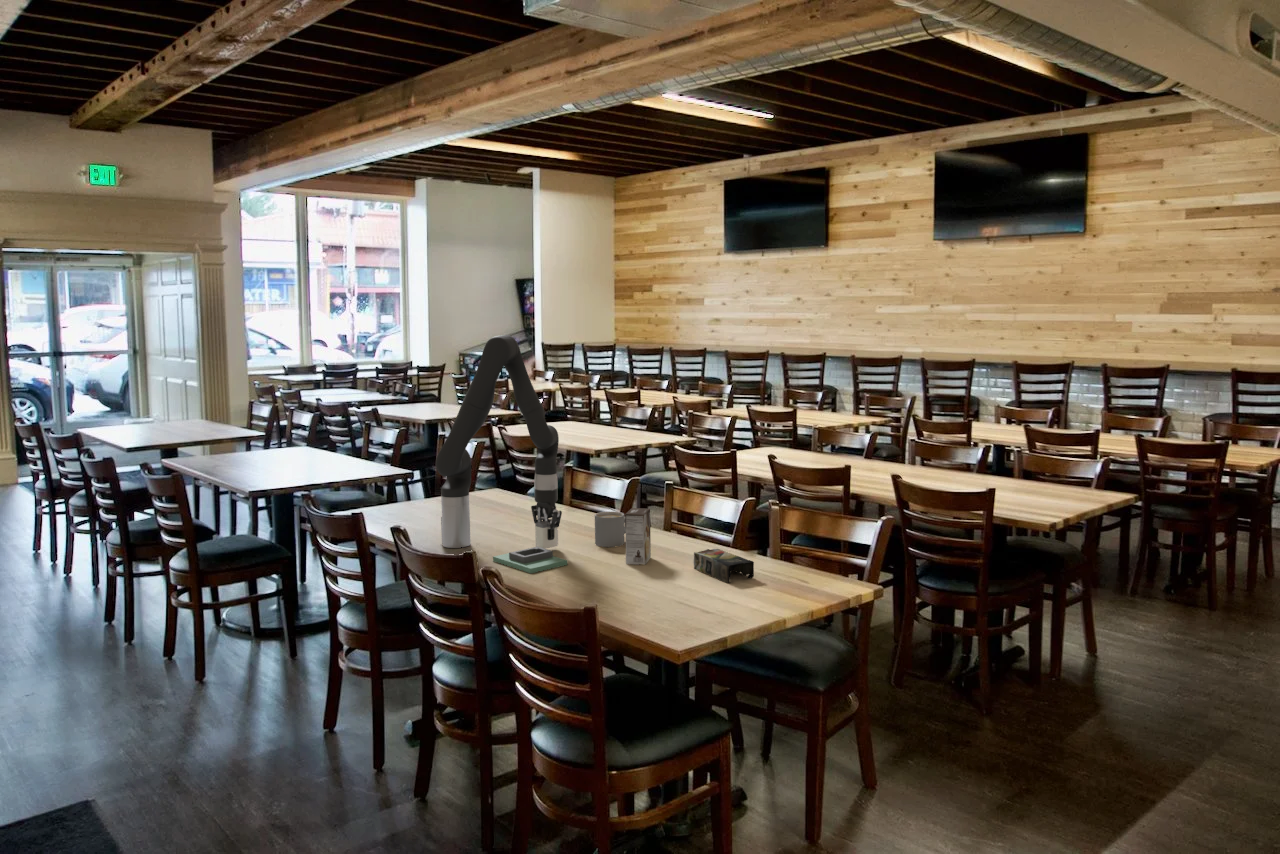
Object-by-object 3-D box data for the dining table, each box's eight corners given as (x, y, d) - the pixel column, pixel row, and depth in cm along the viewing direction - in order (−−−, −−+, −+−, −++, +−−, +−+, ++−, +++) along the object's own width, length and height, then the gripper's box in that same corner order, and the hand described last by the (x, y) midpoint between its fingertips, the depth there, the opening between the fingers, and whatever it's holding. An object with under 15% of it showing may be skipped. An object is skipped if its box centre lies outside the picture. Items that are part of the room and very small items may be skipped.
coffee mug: (604, 548, 323) (603, 519, 322) (589, 542, 331) (589, 513, 330) (638, 543, 330) (638, 514, 328) (623, 537, 338) (623, 509, 337)
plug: (535, 546, 320) (535, 523, 318) (552, 543, 324) (552, 519, 323) (543, 549, 317) (542, 525, 316) (560, 545, 321) (559, 521, 320)
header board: (493, 561, 308) (492, 550, 308) (529, 553, 318) (528, 542, 317) (530, 573, 294) (530, 562, 293) (567, 564, 303) (567, 553, 302)
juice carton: (690, 568, 298) (690, 549, 297) (716, 564, 303) (717, 545, 302) (727, 585, 281) (727, 564, 280) (755, 580, 286) (755, 560, 285)
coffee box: (631, 556, 312) (631, 507, 310) (651, 557, 311) (650, 508, 309) (625, 564, 303) (624, 513, 301) (645, 565, 302) (645, 514, 300)
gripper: (523, 485, 320) (524, 536, 322) (550, 491, 310) (550, 544, 312) (541, 482, 325) (542, 532, 327) (568, 488, 315) (569, 540, 317)
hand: (546, 538), depth 320 cm, fingers closed on plug, 4 cm apart
